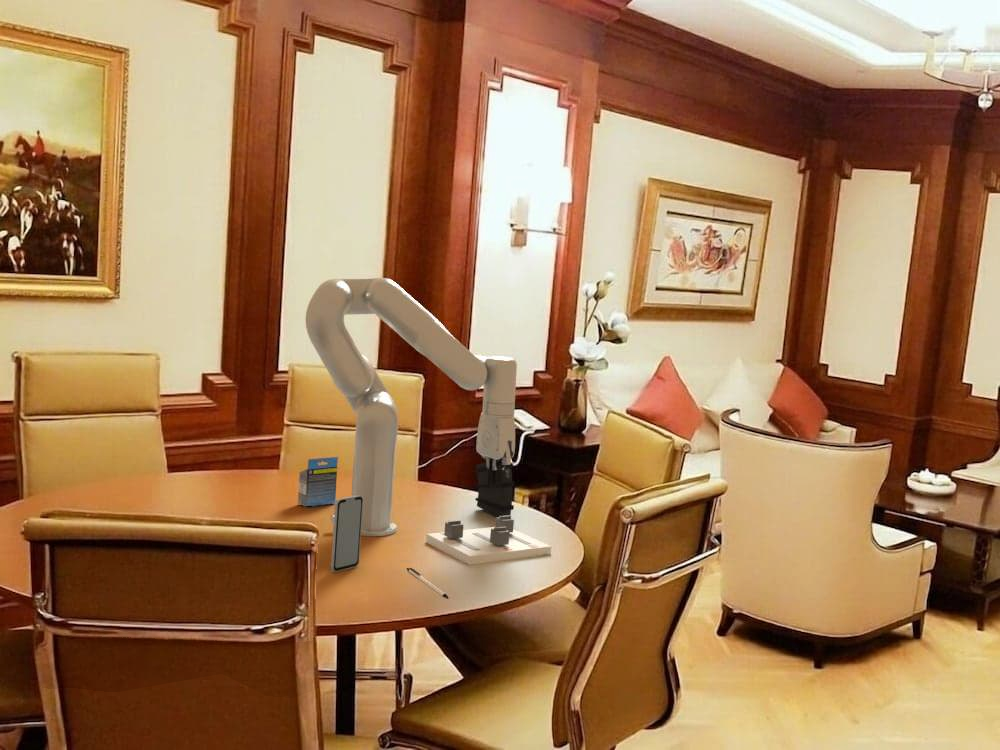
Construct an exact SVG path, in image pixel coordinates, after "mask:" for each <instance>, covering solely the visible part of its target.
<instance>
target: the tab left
mask: <svg viewBox="0 0 1000 750" xmlns="http://www.w3.org/2000/svg"><path fill="white" fill-rule="evenodd" d="M463 530H464V524H463V523H462V520H460V519H457V520H456V519H455V520H448V521H446V522H445V523H444V531H443V532H444V535H445V536H447V537H449V538H451V539H454V538H463Z"/></svg>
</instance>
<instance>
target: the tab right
mask: <svg viewBox="0 0 1000 750" xmlns="http://www.w3.org/2000/svg"><path fill="white" fill-rule="evenodd" d="M514 525H515V519H513V518H512V515H511V516H510V515H507V516H499V517H495V526H494V527H495V528H496V527H507V530H508V531H510V532H513V529H514ZM510 532H509V533H510Z"/></svg>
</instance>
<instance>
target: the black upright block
mask: <svg viewBox="0 0 1000 750" xmlns="http://www.w3.org/2000/svg"><path fill="white" fill-rule="evenodd" d="M475 466H476V469H474V472H475V473H477V479H478V484H475V486H476V487H475V488H477V489H478V491H477V492H478V494H477V497H475V498H474V499H475V501H476V502H477V503H476V506H477V508H479V509H481V510H483V511H485V512H486V513H488V514H490V515H492V516H494V517H495V518H496V517H499V516H507V515H510V516H511V517H512V515H511V514H512V511H513V510H514V508H515V506H514V504H513V487H515V485H516V484H515V482H514V481H513V471H512V467H513V466H514V463H513V462H511V464H510V465H505V467H504V470H503V473H502V485H501V486H495V487H491V486H488V485H487V476H488V468H487V466H486V462H483V463H479V464H476V465H475Z"/></svg>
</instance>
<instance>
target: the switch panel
mask: <svg viewBox="0 0 1000 750" xmlns="http://www.w3.org/2000/svg"><path fill="white" fill-rule="evenodd" d="M494 528H495V526H492V527H491V526H490V527H479V528H471V529H463V538H454V539H451V538H449V537H447V536H445V535H444V532H445V531H443V532H441V531H439V532H434V533H426V538H425V539H426V540H425V543H426V544H428V545H430V546H433V547H434V548H436V549H438V550H440V551H442V552H444V553H446V554H447V555H450V556H452V557H454V558H456V559H457V560H459V561H461V562H463V563H465V564H467V565H469V566H470V565H479V564H483V563H485V564H486V563H493V562H500V561H501V562H502V561H508V560H516V559H523V558H529V557H530V556H532V557H536V556H535V555H539V556H543V555H542V554H547V555H551V554H552V545H550V544H547V543H545V542H542V541H541V540H537V539H535V538H534V537H532V536H529V535H527V534H524V533H523V532H521V531H518V530H516V529H514V528H513V532H510V533H509V544H508V545H499V546H497V545H495V544H493V543H491V542H490V534H491V529H494ZM530 558H531V557H530Z"/></svg>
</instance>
